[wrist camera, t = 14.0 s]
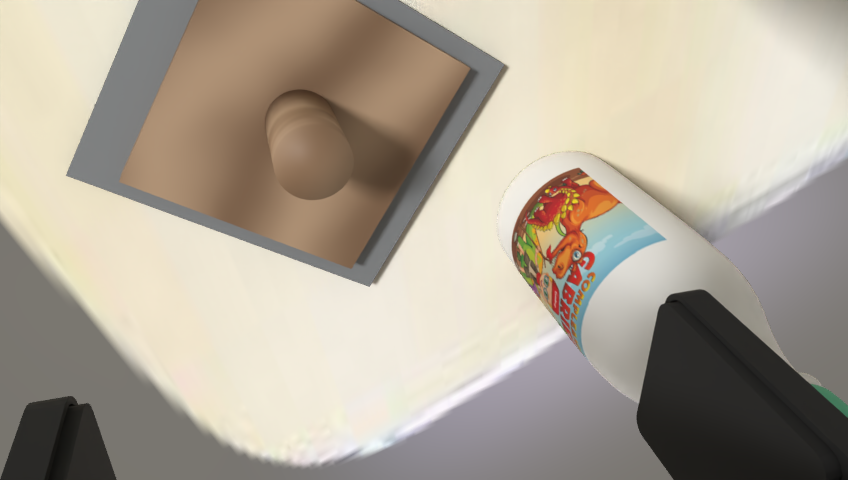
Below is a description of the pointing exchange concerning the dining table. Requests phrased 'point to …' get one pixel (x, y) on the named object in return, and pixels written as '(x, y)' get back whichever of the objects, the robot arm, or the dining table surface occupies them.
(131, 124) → the mat
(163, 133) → the lid
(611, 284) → the milk bottle
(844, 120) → the dining table surface
